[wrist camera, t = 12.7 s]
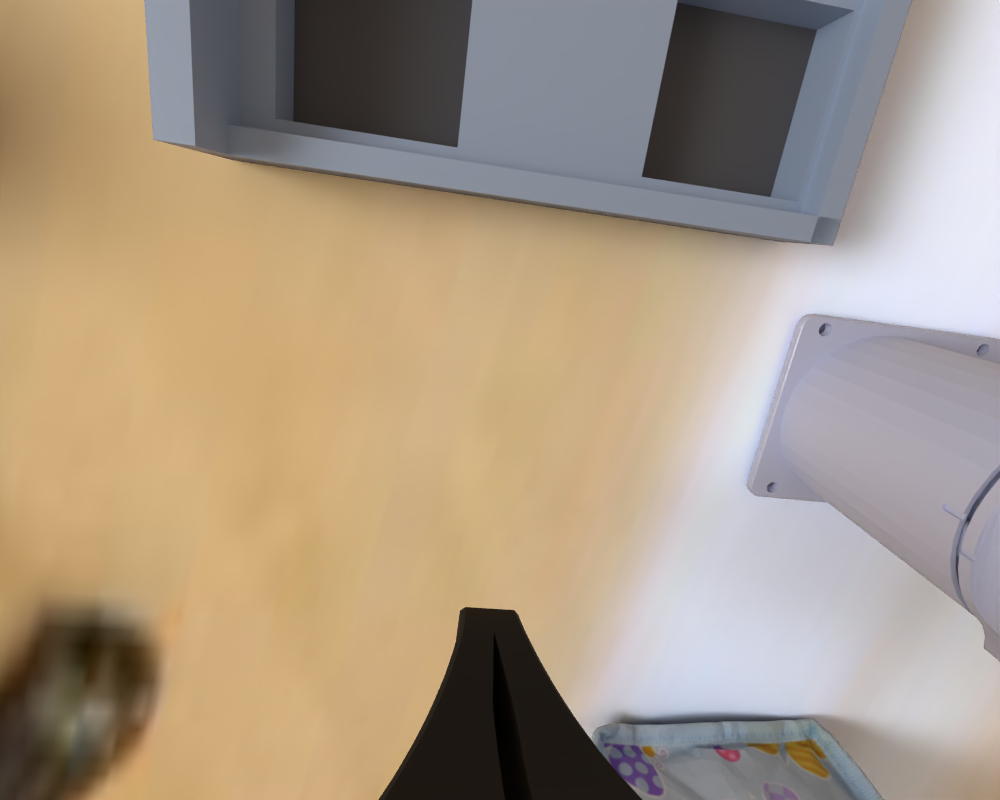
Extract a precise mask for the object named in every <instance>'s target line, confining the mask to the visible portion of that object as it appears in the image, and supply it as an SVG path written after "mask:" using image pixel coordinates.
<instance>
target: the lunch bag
mask: <svg viewBox="0 0 1000 800" xmlns="http://www.w3.org/2000/svg"><path fill="white" fill-rule="evenodd" d="M592 742H593V743H594V744H595V745H596V747H597V748H598V749H599V751H600V752H601V753H602V754H603V756H604V757H605V758H606V759H607V760H608V762H609V763H610V764H611V765H612V766H613V768H614V769H615V770H616V771H617V772H618V773H619V775H620V776H621V777H622V778H623V779H624V780H625V781H626V782H627V783H628V784H629V785H630V786H631V788H632V789H633V790H634V791H635V792H636V793H637V794H638V795H639V796H640V797H641V798H642V800H883V799H882V797H881V796H880V794H879V793H878V792H877V790H876V789H875V787H874V786H873V785H872V783H871V782H870V780H869V779H868V778H867V777H866V775H865V774H864V773H863V771H862V770H861V769H860V768H859V767H858V766H857V765H856V764H855V762H854V761H853V760H852V758H851V757H850V756H849V755H848V753H847V752H846V751H845V750H844V749H843V748H842V747H841V746H840V744H839V743H838V741H837V740H836V739H835V738H834V737H833V736H832V735H831V734H830V733H829V732H828V731H827V730H825V729H824V728H823V727H822V726H821V725H820V724H819V723H818V722H817V721H815V720H813V719H799V720H776V721H722V722H703V723H683V724H663V725H630V724H624V723H612V724H608V725H604V726H601V727H598V728H597V729H596V730H595V731H594V732H593V735H592Z"/></svg>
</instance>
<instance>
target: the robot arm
mask: <svg viewBox="0 0 1000 800" xmlns="http://www.w3.org/2000/svg"><path fill="white" fill-rule="evenodd" d="M823 324H825V330H824V331H823V332H822V333H821V334H819V328H820V327H821V325H823ZM979 346H980V349H979V351H978V352H977V349H978V348H979ZM771 482H773V485H772V486H771V487H770V488H767V486H768V484H770V483H771ZM747 488H748V490H749V491H750V492H751V493H753V494H754V495H756V496H763V497H774V498H785V499H795V500H806V501H817V502H828V503H829V504H830V505H832V506H833V507H834V508H836V509H837V510H838V511H839V512H841V513H842V514H843V515H845V516H846V517H847V518H849V519H850V520H851V521H852V522H854V523H855V524H856V525H858V526H859V527H860V528H861V529H863V530H864V531H865V532H867V533H868V534H869V535H870V536H872V537H873V538H874V539H876V540H877V541H878V542H879V543H881V544H882V545H883V546H885V547H886V548H887V549H889V550H890V551H891V552H892V553H894V554H895V555H896V556H898V557H899V558H900V559H901V560H903V561H904V562H905V563H907V564H908V565H909V566H910V567H912V568H913V569H914V570H916V571H917V572H918V573H920V574H921V575H922V576H923V577H925V578H926V579H927V580H929V581H930V582H931V583H932V584H934V585H935V586H936V587H938V588H939V589H940V590H941V591H943V592H944V593H945V594H947V595H948V596H949V597H951V598H952V599H953V600H954V601H956V602H957V603H958V604H960V605H961V606H962V607H963V608H965V609H966V610H967V611H969V612H970V613H971V614H972V615H974V616H975V617H976V618H977V619H978V620H979V621H980V623H981V624H982V626H983V629H984V633H985V641H984V649H985V650H987V651H988V652H989V653H990V654H992V655H993V656H994V657H995V658H996V659H998V660H999V661H1000V339H995V338H987V337H980V336H972V335H965V334H957V333H950V332H942V331H935V330H927V329H920V328H912V327H905V326H897V325H890V324H882V323H875V322H867V321H860V320H853V319H845V318H838V317H830V316H823V315H815V314H807V315H805V316H803V317H802V318H801V319H800V320H799V321H798V323H797V325H796V328H795V332H794V335H793V338H792V341H791V344H790V347H789V351H788V354H787V357H786V360H785V363H784V366H783V370H782V373H781V376H780V379H779V382H778V385H777V388H776V392H775V395H774V398H773V401H772V404H771V407H770V411H769V414H768V417H767V420H766V423H765V426H764V430H763V433H762V436H761V439H760V442H759V445H758V449H757V452H756V455H755V458H754V461H753V464H752V468H751V471H750V474H749V477H748V480H747ZM379 800H642V798H641V797H640V796H639V795H638V794H637V793H636V792H635V791H634V790H633V789H632V788H631V786H630V785H629V784H628V783H627V782H626V781H625V780H624V779H623V778H622V777H621V776H620V775H619V773H618V772H617V771H616V770H615V769H614V768H613V766H612V765H611V764H610V763H609V762H608V760H607V759H606V758H605V757H604V756H603V754H602V753H601V752H600V751H599V749H598V748H597V747H596V745H595V744H594V743H593V742H592V740H591V739H590V738H589V736H588V735H587V734H586V732H585V731H584V730H583V728H582V727H581V725H580V724H579V723H578V721H577V720H576V718H575V717H574V715H573V714H572V712H571V711H570V709H569V708H568V706H567V705H566V703H565V702H564V700H563V699H562V697H561V696H560V694H559V692H558V691H557V689H556V688H555V686H554V684H553V683H552V681H551V679H550V677H549V676H548V674H547V672H546V670H545V669H544V667H543V665H542V663H541V662H540V660H539V658H538V656H537V654H536V652H535V650H534V648H533V646H532V644H531V642H530V640H529V638H528V636H527V634H526V632H525V630H524V628H523V625H522V623H521V621H520V619H519V616H518V614H517V613H516V612H515V611H514V610H502V609H486V608H470V607H465V608H463V609H462V610H461V611H460V615H459V622H458V630H457V637H456V643H455V647H454V650H453V653H452V656H451V659H450V662H449V665H448V668H447V671H446V674H445V676H444V679H443V681H442V684H441V686H440V689H439V691H438V693H437V696H436V698H435V700H434V703H433V705H432V707H431V709H430V711H429V713H428V716H427V718H426V720H425V722H424V724H423V726H422V728H421V730H420V731H419V733H418V735H417V737H416V739H415V741H414V743H413V745H412V746H411V748H410V750H409V752H408V753H407V755H406V757H405V759H404V760H403V762H402V764H401V766H400V767H399V769H398V771H397V772H396V774H395V775H394V777H393V779H392V780H391V782H390V783H389V785H388V786H387V788H386V789H385V791H384V792H383V794H382V795H381V797H380V798H379Z"/></svg>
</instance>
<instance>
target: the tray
mask: <svg viewBox="0 0 1000 800" xmlns="http://www.w3.org/2000/svg"><path fill="white" fill-rule="evenodd" d="M144 2H145V18H146V33H147V49H148V64H149V80H150V95H151V111H152V127H153V140H157V141H161V142H165V143H169V144H172V145H176V146H180V147H184V148H188V149H192V150H196V151H200V152H204V153H208V154H212V155H216V156H219V157H223V158H227V159H231V160H236V161H243V162H249V163H256V164H263V165H270V166H276V167H283V168H290V169H296V170H303V171H310V172H317V173H323V174H330V175H337V176H343V177H350V178H357V179H364V180H370V181H377V182H384V183H390V184H397V185H404V186H411V187H417V188H424V189H431V190H437V191H444V192H451V193H458V194H464V195H471V196H478V197H484V198H491V199H498V200H505V201H511V202H518V203H525V204H531V205H538V206H545V207H552V208H558V209H565V210H572V211H578V212H585V213H592V214H599V215H605V216H612V217H619V218H625V219H632V220H639V221H645V222H652V223H659V224H666V225H672V226H679V227H686V228H692V229H699V230H706V231H713V232H719V233H726V234H733V235H739V236H746V237H753V238H760V239H766V240H773V241H780V242H792V243H806V244H819V245H833V244H834V241H835V238H836V234H837V231H838V228H839V225H840V222H841V219H842V216H843V213H844V210H845V207H846V203H847V200H848V197H849V194H850V191H851V188H852V185H853V182H854V179H855V176H856V172H857V169H858V166H859V163H860V160H861V157H862V154H863V151H864V148H865V145H866V141H867V138H868V135H869V132H870V129H871V126H872V123H873V120H874V117H875V114H876V110H877V107H878V104H879V101H880V98H881V95H882V92H883V89H884V86H885V83H886V79H887V76H888V73H889V70H890V67H891V64H892V61H893V58H894V55H895V52H896V48H897V45H898V42H899V39H900V36H901V33H902V30H903V27H904V24H905V21H906V17H907V14H908V11H909V8H910V5H911V2H912V0H144Z"/></svg>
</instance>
